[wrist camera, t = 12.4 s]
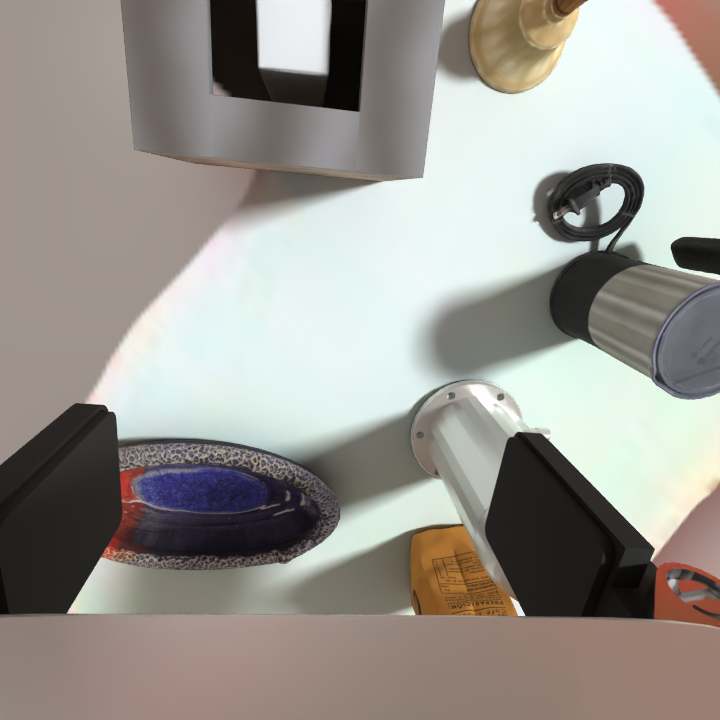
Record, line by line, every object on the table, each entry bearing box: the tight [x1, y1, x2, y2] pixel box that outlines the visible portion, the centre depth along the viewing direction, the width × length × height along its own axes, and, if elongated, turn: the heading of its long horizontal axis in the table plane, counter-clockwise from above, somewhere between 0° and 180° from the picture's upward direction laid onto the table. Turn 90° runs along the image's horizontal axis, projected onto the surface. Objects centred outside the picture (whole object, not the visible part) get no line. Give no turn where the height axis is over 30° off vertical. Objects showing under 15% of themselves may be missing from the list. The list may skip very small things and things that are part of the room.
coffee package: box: [410, 526, 518, 616], centre depth 46 cm, size 10×12×22 cm
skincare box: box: [256, 0, 332, 107], centre depth 29 cm, size 6×4×12 cm
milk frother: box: [549, 163, 720, 400], centre depth 37 cm, size 14×16×15 cm
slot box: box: [121, 0, 445, 181], centre depth 28 cm, size 16×16×14 cm
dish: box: [101, 440, 340, 570], centre depth 46 cm, size 16×31×5 cm, turn 80°
